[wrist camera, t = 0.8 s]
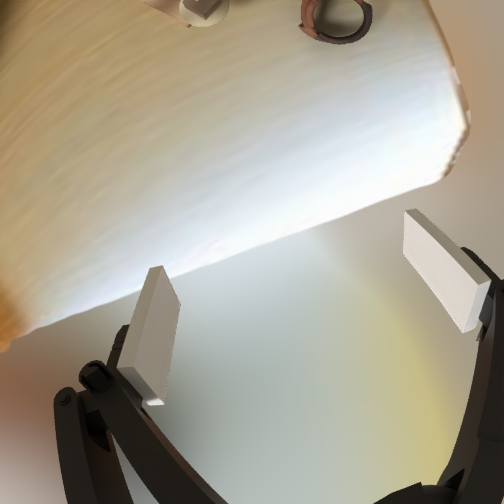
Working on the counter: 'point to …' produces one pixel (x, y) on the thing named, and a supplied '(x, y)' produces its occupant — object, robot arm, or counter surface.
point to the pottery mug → (307, 12)
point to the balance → (192, 11)
